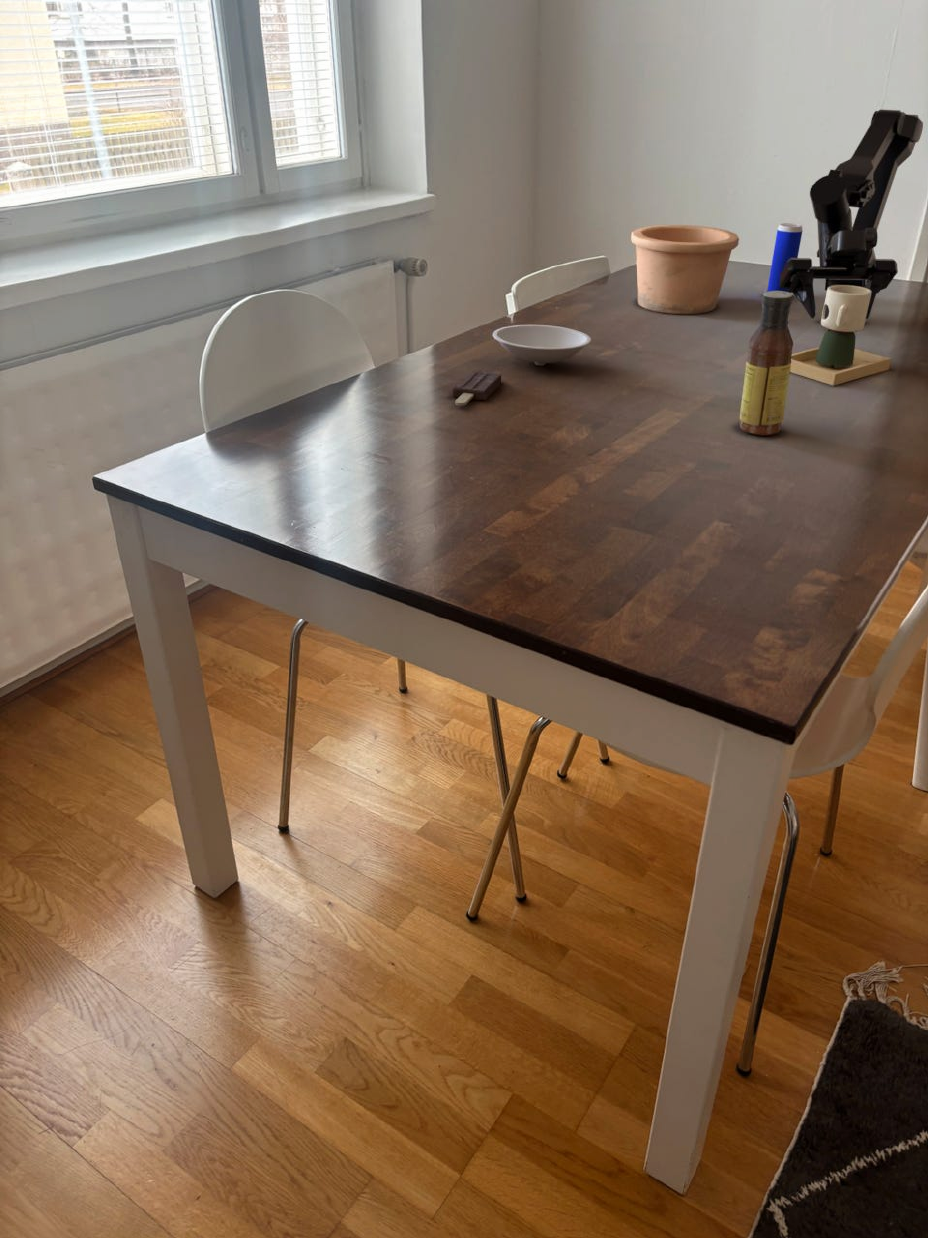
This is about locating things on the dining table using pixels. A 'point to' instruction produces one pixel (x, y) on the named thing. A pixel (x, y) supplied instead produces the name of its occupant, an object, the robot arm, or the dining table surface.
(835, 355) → the character mug
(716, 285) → the pottery
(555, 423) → the dining table surface
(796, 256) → the beverage can
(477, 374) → the ice cream bar
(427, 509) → the dining table surface
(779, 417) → the sauce bottle
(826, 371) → the mug tray
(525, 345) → the dish
